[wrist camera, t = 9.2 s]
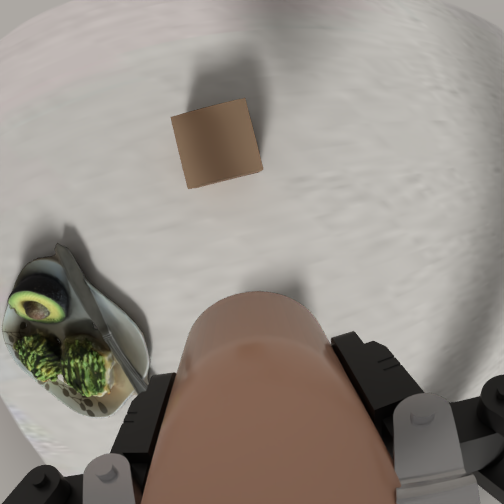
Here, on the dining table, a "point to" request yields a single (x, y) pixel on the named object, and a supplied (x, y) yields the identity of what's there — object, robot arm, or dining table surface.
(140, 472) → the robot arm
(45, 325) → the salad plate
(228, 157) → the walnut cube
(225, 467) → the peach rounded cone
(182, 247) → the dining table surface
